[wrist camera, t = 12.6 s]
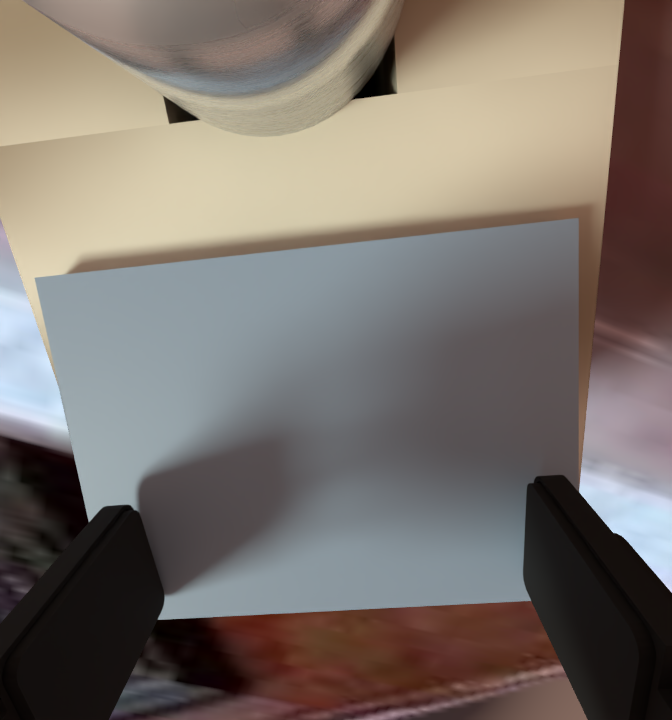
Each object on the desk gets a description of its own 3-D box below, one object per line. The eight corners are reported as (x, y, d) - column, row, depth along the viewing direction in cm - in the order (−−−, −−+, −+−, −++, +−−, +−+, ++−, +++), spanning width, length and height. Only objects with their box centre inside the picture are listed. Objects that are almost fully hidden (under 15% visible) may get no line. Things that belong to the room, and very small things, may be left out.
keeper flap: (59, 278, 10) (34, 277, 9) (560, 223, 9) (578, 217, 9) (127, 599, 12) (111, 621, 11) (562, 575, 11) (578, 598, 10)
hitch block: (51, -88, 13) (-192, -339, 7) (517, -167, 12) (673, -533, 6) (183, 432, 18) (107, 527, 13) (503, 406, 17) (578, 495, 12)
